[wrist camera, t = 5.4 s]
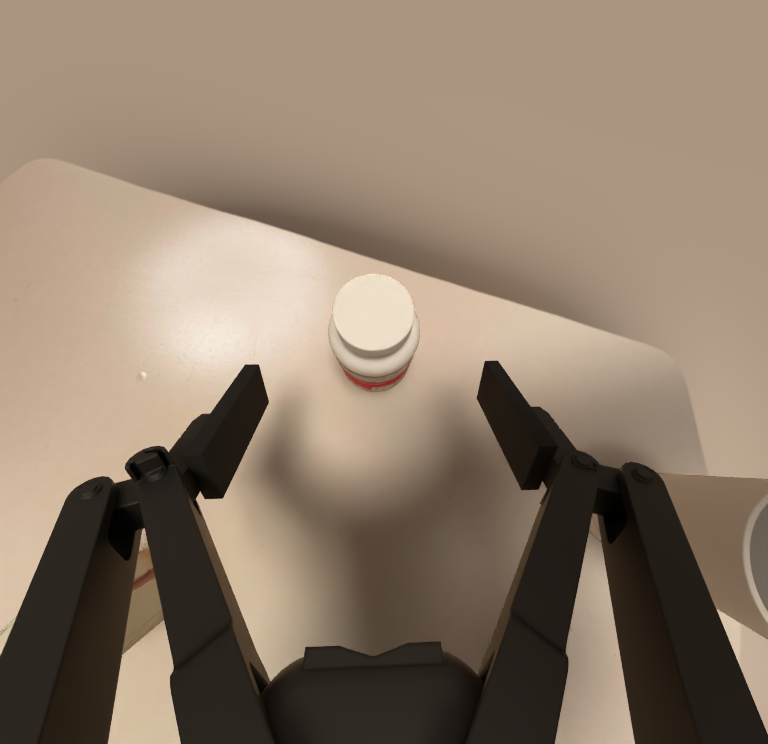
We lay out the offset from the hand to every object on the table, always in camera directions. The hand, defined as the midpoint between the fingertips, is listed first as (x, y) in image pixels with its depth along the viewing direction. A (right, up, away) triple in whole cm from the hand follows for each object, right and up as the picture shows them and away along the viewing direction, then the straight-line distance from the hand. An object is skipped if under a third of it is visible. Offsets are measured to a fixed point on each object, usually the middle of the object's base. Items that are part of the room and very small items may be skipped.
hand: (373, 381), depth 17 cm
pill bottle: (0, +2, +10) cm, 10 cm away
